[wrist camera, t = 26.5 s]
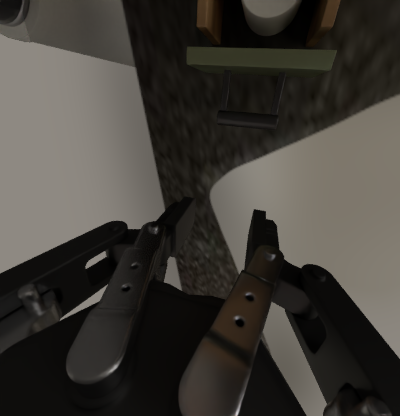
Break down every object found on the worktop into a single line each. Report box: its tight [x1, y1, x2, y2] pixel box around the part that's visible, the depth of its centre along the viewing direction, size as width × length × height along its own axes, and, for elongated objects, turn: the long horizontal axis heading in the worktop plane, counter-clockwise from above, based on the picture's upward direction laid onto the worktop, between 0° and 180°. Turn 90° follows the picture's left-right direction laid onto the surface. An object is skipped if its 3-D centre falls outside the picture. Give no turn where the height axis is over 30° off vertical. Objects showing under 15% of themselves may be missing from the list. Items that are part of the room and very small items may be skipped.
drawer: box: [187, 0, 340, 130], centre depth 17 cm, size 18×11×8 cm, turn 176°
